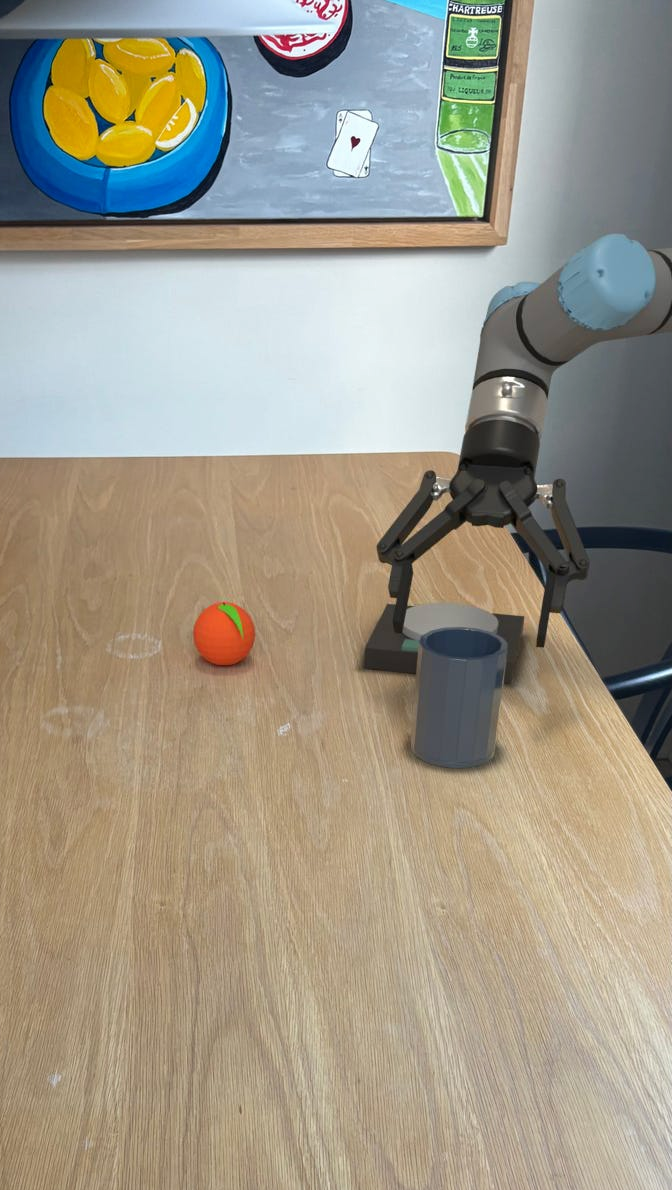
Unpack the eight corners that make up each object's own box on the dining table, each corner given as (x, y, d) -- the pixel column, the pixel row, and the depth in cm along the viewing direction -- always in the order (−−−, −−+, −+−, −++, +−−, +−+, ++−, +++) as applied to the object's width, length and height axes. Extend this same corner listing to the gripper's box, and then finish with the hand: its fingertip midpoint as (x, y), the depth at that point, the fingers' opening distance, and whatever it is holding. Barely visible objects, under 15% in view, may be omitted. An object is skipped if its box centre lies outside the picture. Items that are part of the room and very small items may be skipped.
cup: (498, 736, 121) (511, 631, 115) (489, 773, 115) (503, 663, 109) (417, 726, 123) (426, 623, 118) (404, 762, 117) (413, 654, 111)
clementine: (270, 671, 136) (271, 610, 132) (215, 683, 133) (214, 621, 129) (237, 646, 142) (237, 587, 138) (183, 658, 139) (181, 598, 136)
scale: (522, 636, 143) (525, 607, 141) (510, 683, 132) (514, 653, 130) (385, 623, 147) (387, 595, 145) (363, 668, 136) (365, 638, 134)
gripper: (374, 409, 122) (335, 605, 117) (638, 422, 115) (606, 631, 111) (380, 450, 129) (344, 637, 125) (629, 465, 122) (599, 663, 118)
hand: (467, 635), depth 118 cm, fingers open, 13 cm apart
